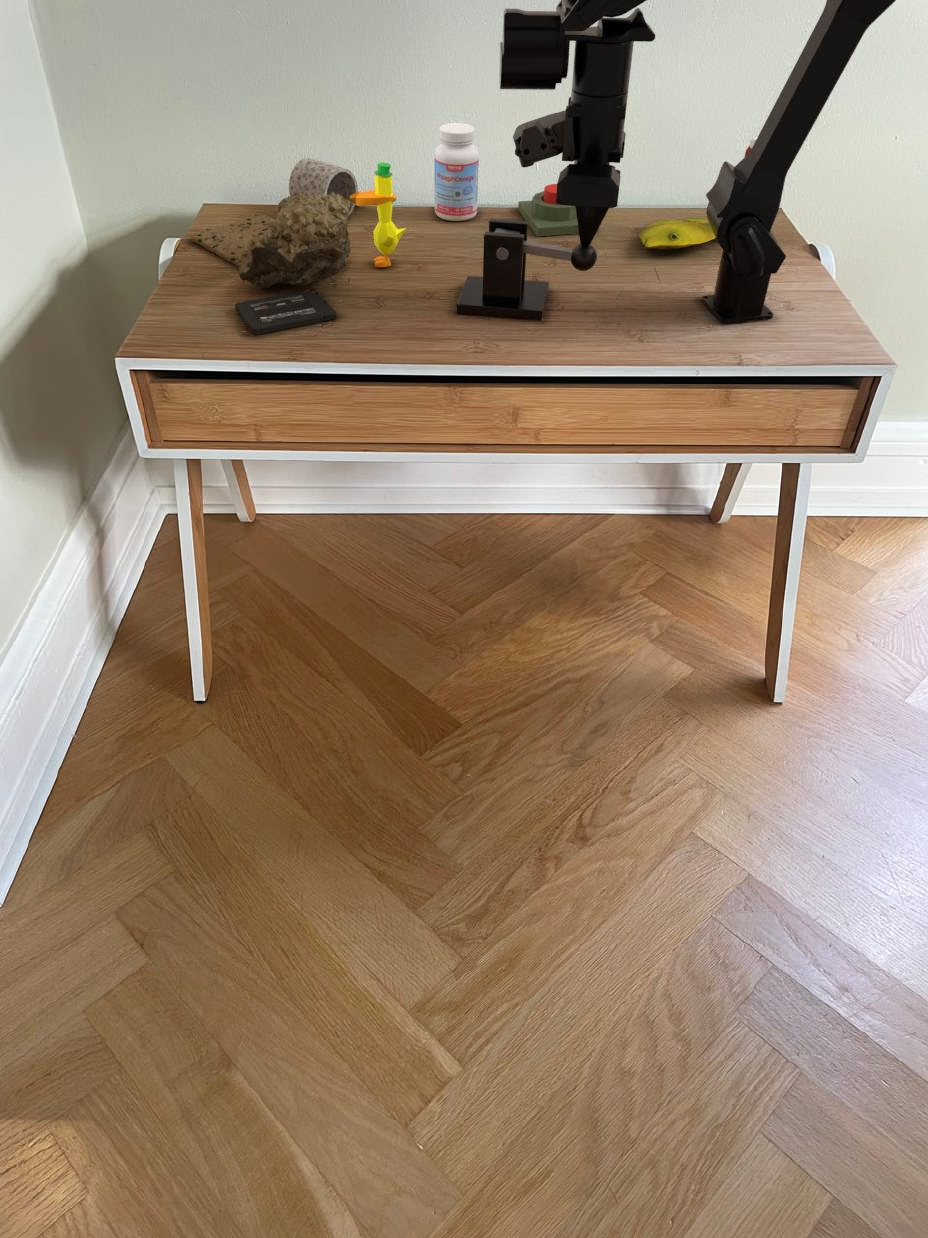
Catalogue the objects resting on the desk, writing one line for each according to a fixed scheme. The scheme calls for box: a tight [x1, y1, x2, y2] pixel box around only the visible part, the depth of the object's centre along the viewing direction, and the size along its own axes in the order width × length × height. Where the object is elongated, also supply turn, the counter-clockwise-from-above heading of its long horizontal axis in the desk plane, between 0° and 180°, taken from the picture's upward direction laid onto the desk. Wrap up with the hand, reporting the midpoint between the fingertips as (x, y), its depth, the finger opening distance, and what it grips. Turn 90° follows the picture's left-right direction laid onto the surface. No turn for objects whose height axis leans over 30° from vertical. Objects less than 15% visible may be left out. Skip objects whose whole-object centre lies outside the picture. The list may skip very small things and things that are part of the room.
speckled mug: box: [288, 157, 359, 218], centre depth 131 cm, size 10×7×7 cm
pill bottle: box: [433, 122, 480, 222], centre depth 129 cm, size 6×6×11 cm
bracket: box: [456, 218, 550, 322], centre depth 109 cm, size 10×8×9 cm
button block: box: [517, 190, 579, 237], centre depth 130 cm, size 10×8×3 cm
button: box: [543, 183, 558, 205], centre depth 129 cm, size 4×4×2 cm
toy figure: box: [350, 161, 407, 268], centre depth 116 cm, size 7×4×12 cm, turn 102°
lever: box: [495, 228, 598, 272], centre depth 107 cm, size 12×3×3 cm, turn 81°
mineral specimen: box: [234, 192, 352, 290], centre depth 113 cm, size 14×13×10 cm
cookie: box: [191, 213, 276, 268], centre depth 124 cm, size 12×12×1 cm
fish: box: [638, 216, 716, 251], centre depth 126 cm, size 3×16×10 cm
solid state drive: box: [234, 288, 337, 335], centre depth 109 cm, size 7×10×1 cm
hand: (585, 243), depth 106 cm, fingers closed
